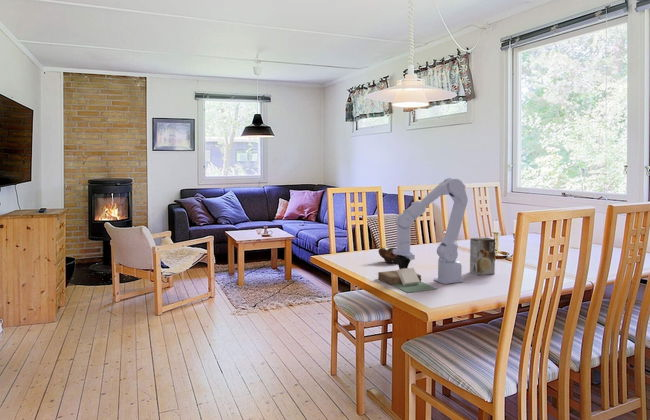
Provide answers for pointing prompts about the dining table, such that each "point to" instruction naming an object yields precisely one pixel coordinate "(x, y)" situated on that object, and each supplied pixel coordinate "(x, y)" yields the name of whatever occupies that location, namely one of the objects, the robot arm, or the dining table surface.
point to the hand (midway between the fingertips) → (403, 273)
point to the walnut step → (392, 277)
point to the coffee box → (482, 256)
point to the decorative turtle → (388, 255)
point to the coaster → (408, 276)
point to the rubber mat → (414, 287)
